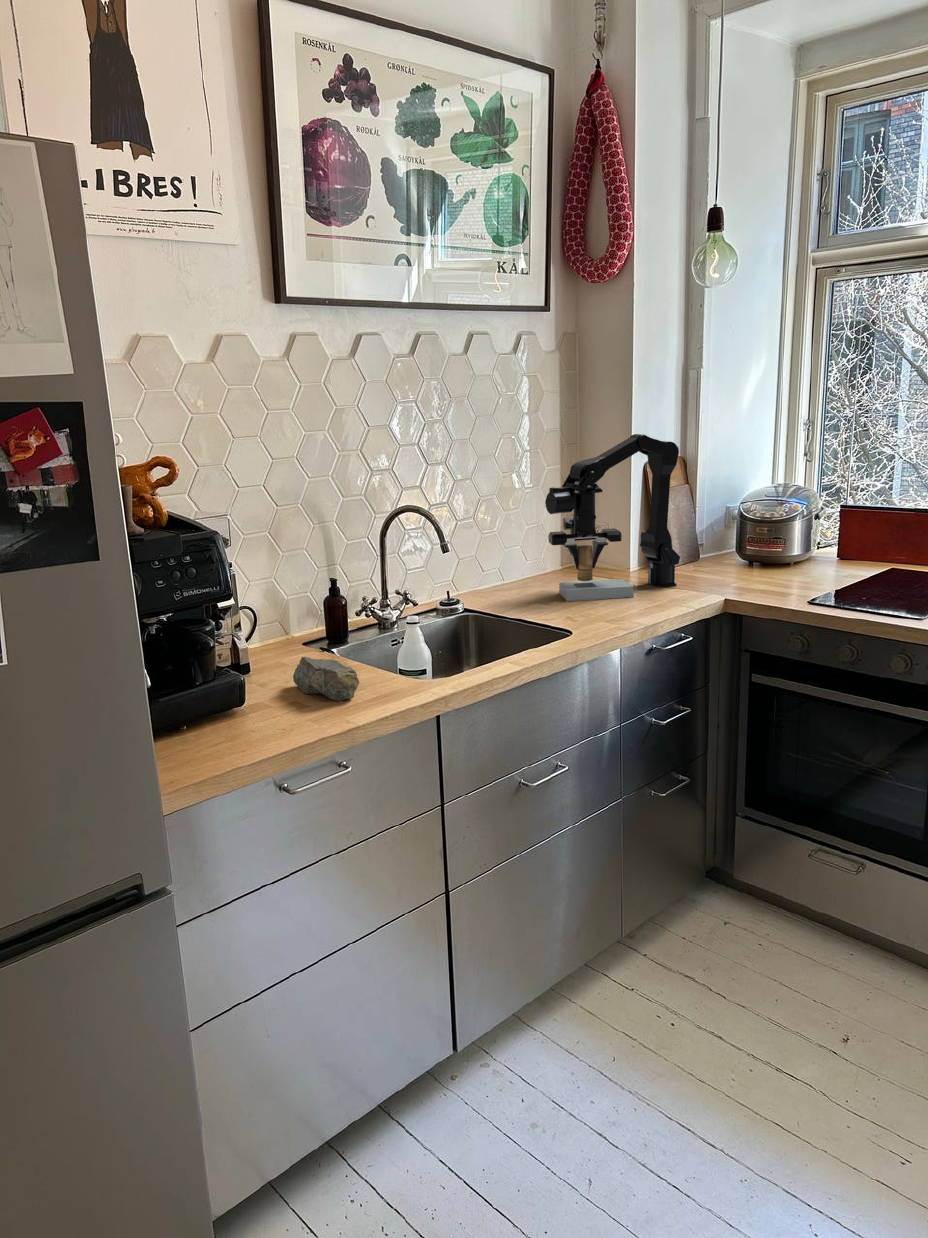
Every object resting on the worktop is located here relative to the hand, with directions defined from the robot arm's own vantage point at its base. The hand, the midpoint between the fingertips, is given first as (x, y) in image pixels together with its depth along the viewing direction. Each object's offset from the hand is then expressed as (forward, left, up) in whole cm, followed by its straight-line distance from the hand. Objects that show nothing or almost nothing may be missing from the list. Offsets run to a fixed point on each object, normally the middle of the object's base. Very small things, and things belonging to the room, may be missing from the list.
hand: (585, 568), depth 239 cm
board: (-3, 0, -8) cm, 8 cm away
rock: (+66, +67, -8) cm, 94 cm away
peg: (0, 0, -3) cm, 3 cm away
